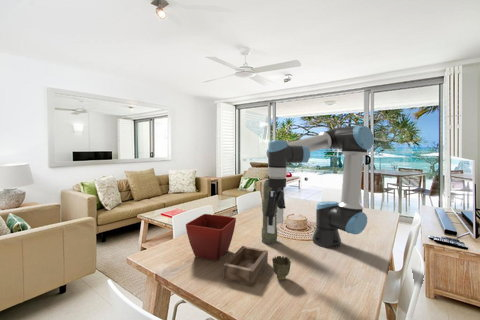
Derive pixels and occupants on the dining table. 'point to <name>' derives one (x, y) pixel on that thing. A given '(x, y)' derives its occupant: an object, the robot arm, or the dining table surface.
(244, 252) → the walnut box
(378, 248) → the dining table surface
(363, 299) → the dining table surface
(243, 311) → the dining table surface
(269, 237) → the thermos
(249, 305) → the dining table surface
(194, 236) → the plant pot
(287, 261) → the olive textured bell shape
